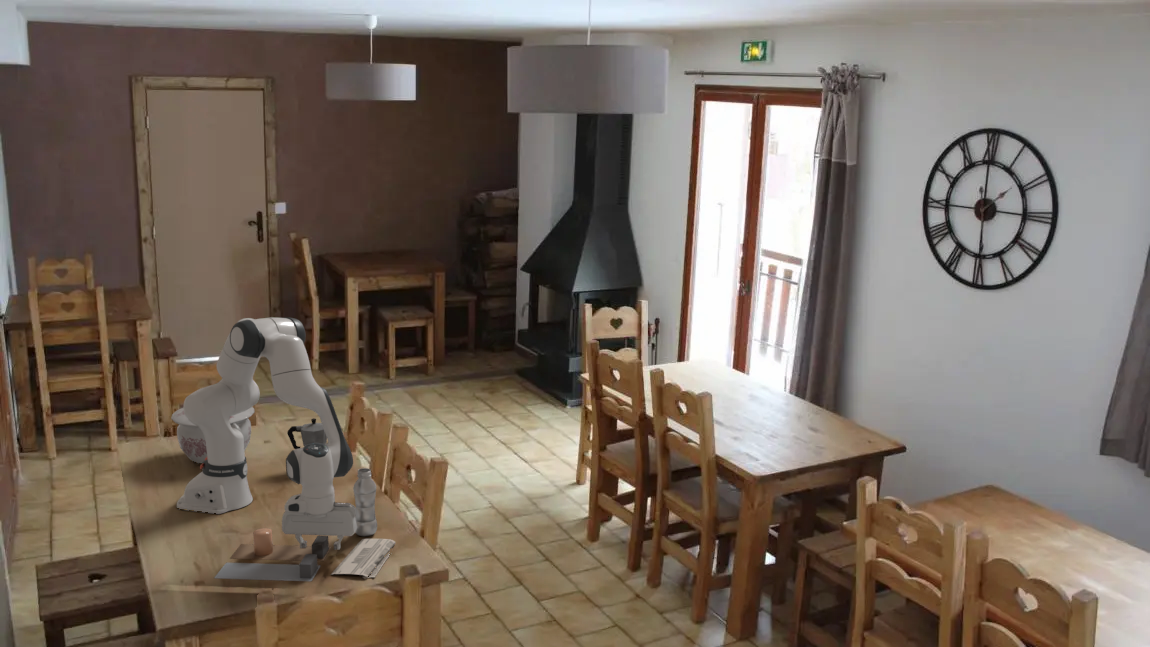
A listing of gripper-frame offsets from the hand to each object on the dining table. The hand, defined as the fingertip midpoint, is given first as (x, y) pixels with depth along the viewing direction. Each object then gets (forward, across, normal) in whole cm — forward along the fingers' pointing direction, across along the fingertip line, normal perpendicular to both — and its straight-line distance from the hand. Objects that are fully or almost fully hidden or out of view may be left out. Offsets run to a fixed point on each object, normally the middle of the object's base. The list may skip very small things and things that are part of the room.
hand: (320, 548), depth 284 cm
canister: (+2, +16, 0) cm, 16 cm away
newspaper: (+4, -13, 0) cm, 14 cm away
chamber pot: (+3, +57, -73) cm, 93 cm away
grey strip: (+3, +11, +12) cm, 16 cm away
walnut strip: (+3, +11, 0) cm, 11 cm away
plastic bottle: (+3, -9, -16) cm, 19 cm away
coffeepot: (+3, +21, -66) cm, 69 cm away
